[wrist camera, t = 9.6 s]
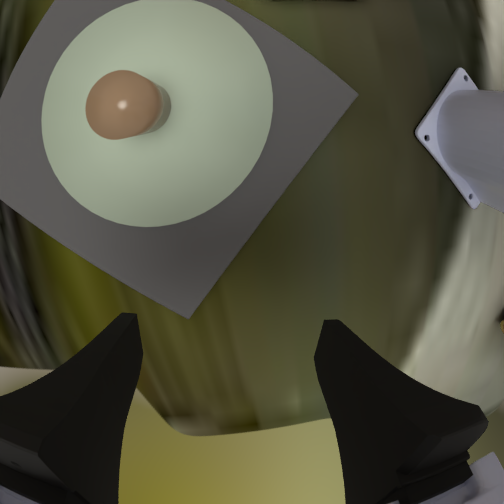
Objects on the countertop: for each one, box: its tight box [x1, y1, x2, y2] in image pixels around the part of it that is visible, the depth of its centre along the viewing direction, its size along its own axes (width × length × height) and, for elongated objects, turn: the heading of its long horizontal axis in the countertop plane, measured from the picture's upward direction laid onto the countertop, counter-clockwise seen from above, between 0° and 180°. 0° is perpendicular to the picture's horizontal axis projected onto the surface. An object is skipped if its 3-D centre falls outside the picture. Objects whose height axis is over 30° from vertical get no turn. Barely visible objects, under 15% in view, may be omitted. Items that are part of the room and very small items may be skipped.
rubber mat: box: [0, 0, 359, 319], centre depth 17 cm, size 22×20×1 cm
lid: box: [41, 0, 273, 227], centre depth 14 cm, size 15×15×6 cm
